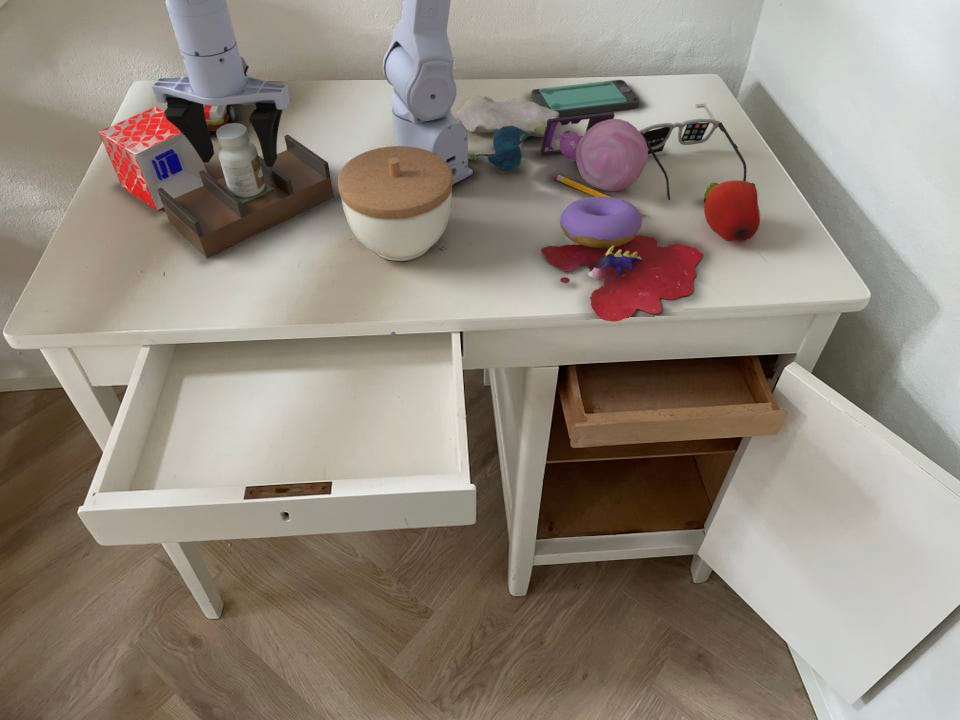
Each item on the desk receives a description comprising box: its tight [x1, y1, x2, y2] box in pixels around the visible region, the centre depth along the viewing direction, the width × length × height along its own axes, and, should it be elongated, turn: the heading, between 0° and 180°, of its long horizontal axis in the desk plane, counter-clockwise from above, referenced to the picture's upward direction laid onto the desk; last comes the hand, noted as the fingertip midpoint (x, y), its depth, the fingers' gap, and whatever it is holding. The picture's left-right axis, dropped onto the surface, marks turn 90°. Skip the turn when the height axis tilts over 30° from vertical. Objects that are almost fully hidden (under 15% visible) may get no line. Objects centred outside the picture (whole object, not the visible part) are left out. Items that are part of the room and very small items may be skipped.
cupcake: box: [575, 118, 649, 192], centre depth 91 cm, size 9×9×10 cm
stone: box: [456, 94, 560, 138], centre depth 101 cm, size 11×3×15 cm
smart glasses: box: [638, 103, 748, 201], centre depth 95 cm, size 12×14×5 cm
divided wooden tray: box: [157, 134, 335, 259], centre depth 87 cm, size 9×18×5 cm, turn 133°
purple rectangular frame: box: [540, 111, 616, 162], centre depth 95 cm, size 7×5×9 cm
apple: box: [703, 179, 761, 242], centre depth 85 cm, size 8×7×10 cm
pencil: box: [553, 173, 645, 216], centre depth 91 cm, size 1×13×1 cm, turn 52°
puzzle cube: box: [98, 106, 208, 211], centre depth 90 cm, size 8×8×8 cm
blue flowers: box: [468, 121, 547, 171], centre depth 95 cm, size 12×4×8 cm
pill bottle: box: [215, 122, 265, 198], centre depth 84 cm, size 4×4×8 cm
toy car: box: [203, 55, 250, 131], centre depth 103 cm, size 8×18×8 cm, turn 0°
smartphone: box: [530, 79, 641, 118], centre depth 107 cm, size 7×1×15 cm
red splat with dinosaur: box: [540, 234, 704, 323], centre depth 81 cm, size 18×15×5 cm
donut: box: [559, 196, 643, 248], centre depth 83 cm, size 10×9×5 cm
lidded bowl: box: [337, 145, 454, 262], centre depth 81 cm, size 13×13×11 cm
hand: (240, 160), depth 84 cm, fingers open, 7 cm apart
